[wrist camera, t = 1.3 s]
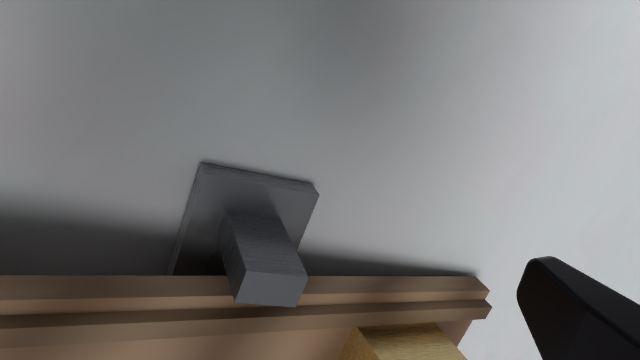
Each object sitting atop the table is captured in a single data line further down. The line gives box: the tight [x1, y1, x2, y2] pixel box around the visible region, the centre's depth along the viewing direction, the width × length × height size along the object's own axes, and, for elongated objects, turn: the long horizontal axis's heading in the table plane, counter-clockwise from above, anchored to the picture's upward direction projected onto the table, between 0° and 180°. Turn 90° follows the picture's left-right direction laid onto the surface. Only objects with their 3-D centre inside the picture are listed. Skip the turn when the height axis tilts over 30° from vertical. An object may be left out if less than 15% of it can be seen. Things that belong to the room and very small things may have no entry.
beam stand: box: [165, 163, 319, 307], centre depth 21 cm, size 16×15×5 cm
